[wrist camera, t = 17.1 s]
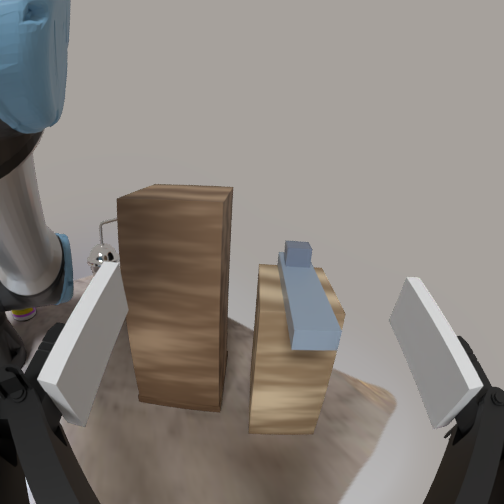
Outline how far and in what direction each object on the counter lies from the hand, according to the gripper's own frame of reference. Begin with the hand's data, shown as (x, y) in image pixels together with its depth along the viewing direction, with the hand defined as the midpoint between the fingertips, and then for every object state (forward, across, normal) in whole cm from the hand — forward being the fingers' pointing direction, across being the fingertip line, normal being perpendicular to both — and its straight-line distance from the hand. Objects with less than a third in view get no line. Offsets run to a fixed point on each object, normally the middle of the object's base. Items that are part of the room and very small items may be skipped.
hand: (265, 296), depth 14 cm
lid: (+16, +6, -13) cm, 22 cm away
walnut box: (+20, -9, -35) cm, 41 cm away
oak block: (+15, +6, -34) cm, 37 cm away
